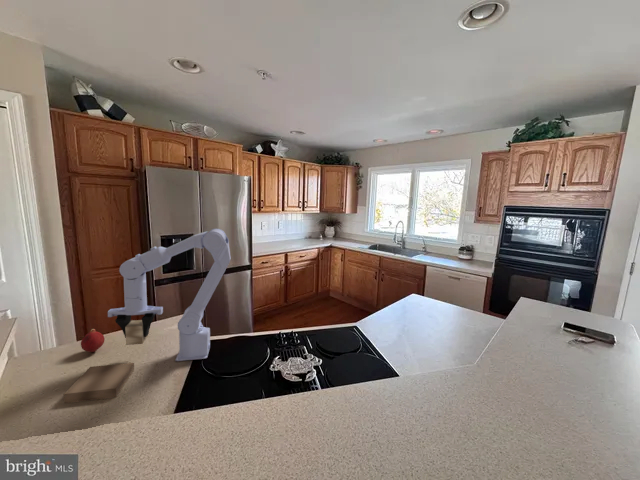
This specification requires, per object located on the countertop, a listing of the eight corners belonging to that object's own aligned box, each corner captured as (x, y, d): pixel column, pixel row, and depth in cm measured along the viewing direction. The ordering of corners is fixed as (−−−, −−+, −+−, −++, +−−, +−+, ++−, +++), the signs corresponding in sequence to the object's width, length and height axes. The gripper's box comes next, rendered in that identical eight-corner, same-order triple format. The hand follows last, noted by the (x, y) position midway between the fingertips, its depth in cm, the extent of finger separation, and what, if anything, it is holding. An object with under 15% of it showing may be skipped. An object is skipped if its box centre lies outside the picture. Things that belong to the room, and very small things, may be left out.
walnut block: (134, 371, 77) (134, 362, 77) (116, 398, 67) (115, 388, 66) (90, 376, 74) (90, 366, 74) (64, 404, 64) (63, 394, 63)
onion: (91, 358, 81) (89, 335, 80) (76, 355, 82) (75, 332, 81) (109, 348, 87) (108, 326, 86) (95, 345, 88) (94, 324, 87)
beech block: (148, 336, 85) (147, 319, 84) (142, 343, 81) (141, 326, 80) (132, 337, 84) (131, 320, 83) (126, 345, 79) (125, 327, 79)
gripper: (165, 290, 86) (166, 328, 88) (115, 292, 82) (117, 331, 84) (158, 298, 79) (159, 339, 81) (103, 300, 75) (105, 342, 77)
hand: (137, 335), depth 82 cm, fingers closed on beech block, 4 cm apart
